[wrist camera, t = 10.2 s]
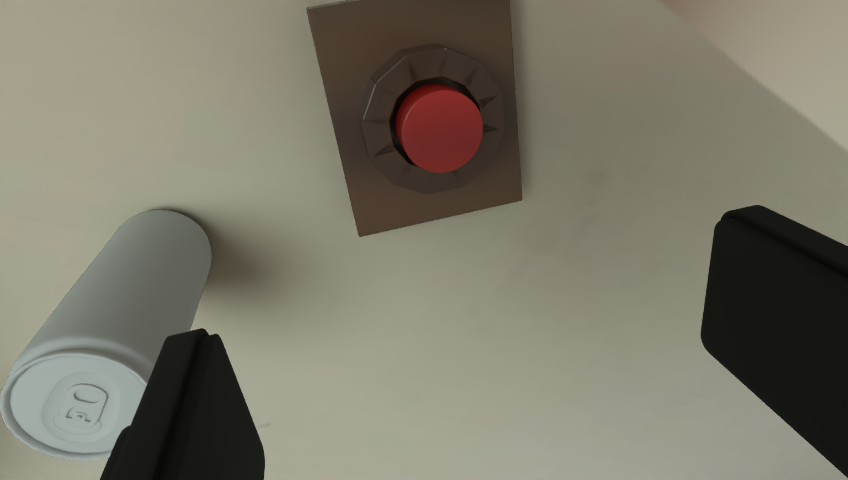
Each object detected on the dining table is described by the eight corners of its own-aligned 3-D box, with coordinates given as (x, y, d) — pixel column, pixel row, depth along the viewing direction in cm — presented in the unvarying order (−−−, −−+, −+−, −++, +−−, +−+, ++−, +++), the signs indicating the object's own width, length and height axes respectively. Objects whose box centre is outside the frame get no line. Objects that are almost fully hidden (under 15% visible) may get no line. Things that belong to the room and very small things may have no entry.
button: (388, 91, 23) (395, 99, 21) (467, 76, 23) (479, 82, 22) (402, 168, 25) (409, 180, 23) (475, 152, 25) (487, 163, 23)
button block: (306, 7, 24) (306, 11, 21) (492, -25, 25) (523, -26, 22) (355, 220, 29) (362, 253, 26) (508, 186, 30) (536, 213, 27)
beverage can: (103, 269, 27) (-22, 447, 17) (131, 190, 26) (13, 330, 15) (197, 298, 29) (137, 475, 19) (228, 225, 28) (182, 373, 17)
